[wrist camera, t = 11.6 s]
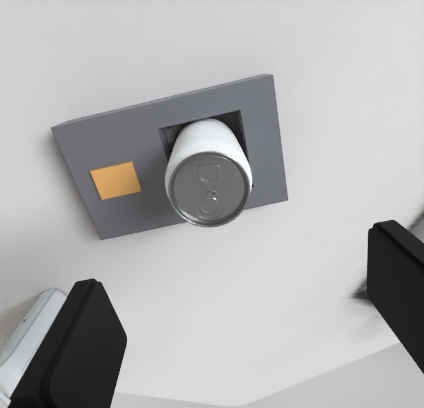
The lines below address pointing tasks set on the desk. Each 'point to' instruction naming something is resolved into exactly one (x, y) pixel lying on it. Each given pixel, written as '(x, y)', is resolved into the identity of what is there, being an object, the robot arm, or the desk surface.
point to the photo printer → (27, 340)
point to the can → (208, 174)
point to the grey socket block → (166, 153)
